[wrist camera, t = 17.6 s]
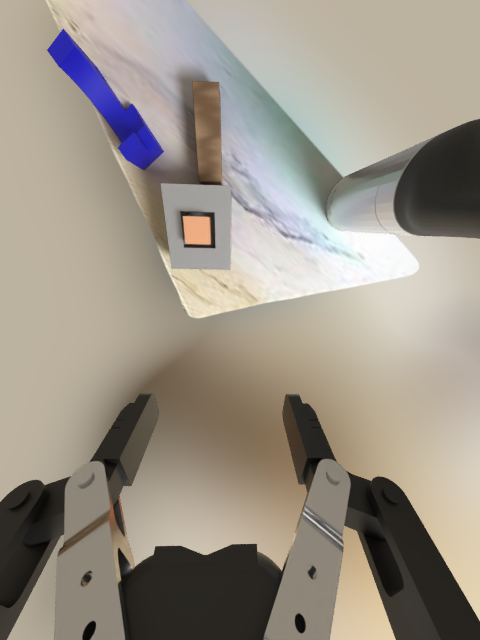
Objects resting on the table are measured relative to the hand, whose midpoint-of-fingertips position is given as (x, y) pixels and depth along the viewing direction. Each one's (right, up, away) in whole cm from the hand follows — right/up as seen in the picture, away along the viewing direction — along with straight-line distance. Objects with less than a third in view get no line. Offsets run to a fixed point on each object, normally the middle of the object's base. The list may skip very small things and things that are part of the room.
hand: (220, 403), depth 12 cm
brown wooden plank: (-3, +38, +15) cm, 41 cm away
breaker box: (-5, +22, +25) cm, 34 cm away
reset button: (-5, +20, +20) cm, 29 cm away
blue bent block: (-16, +36, +18) cm, 44 cm away
